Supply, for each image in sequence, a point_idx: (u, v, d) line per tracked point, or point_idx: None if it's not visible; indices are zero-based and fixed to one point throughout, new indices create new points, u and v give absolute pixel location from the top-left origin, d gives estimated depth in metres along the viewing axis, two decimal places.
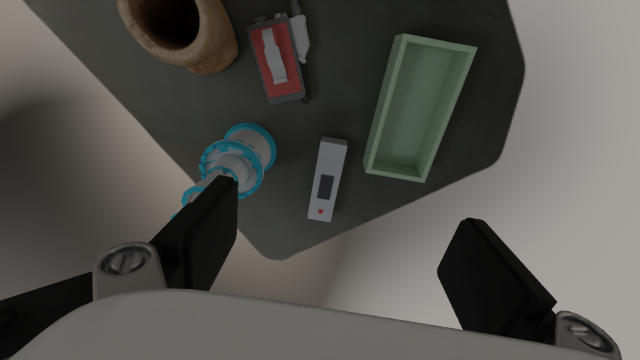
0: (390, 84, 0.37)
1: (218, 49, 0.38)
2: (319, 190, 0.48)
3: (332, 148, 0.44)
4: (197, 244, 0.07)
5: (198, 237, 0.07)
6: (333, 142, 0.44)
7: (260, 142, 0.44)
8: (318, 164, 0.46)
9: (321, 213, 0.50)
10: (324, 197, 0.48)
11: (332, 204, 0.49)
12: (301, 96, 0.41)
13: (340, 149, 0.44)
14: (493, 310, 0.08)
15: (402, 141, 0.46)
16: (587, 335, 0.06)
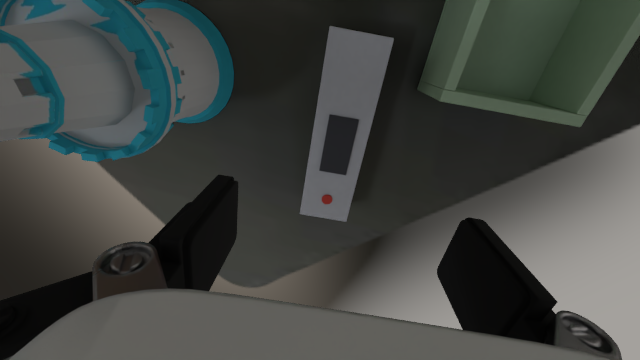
0: None
1: None
2: (325, 153, 0.22)
3: (357, 46, 0.18)
4: (197, 244, 0.07)
5: (198, 237, 0.07)
6: (359, 31, 0.18)
7: (186, 32, 0.19)
8: (323, 90, 0.20)
9: (327, 203, 0.25)
10: (335, 169, 0.23)
11: (351, 184, 0.24)
12: None
13: (376, 48, 0.19)
14: (493, 310, 0.08)
15: (515, 38, 0.20)
16: (587, 335, 0.06)
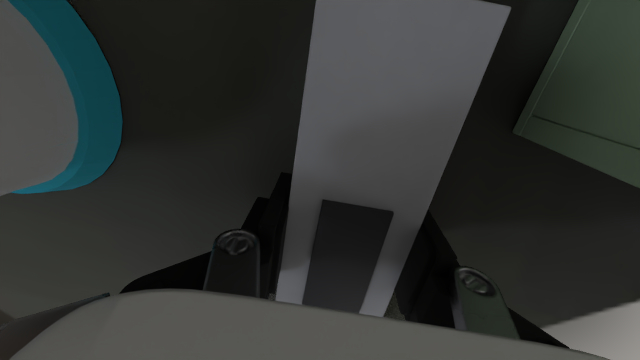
0: None
1: None
2: (313, 275, 0.10)
3: (400, 31, 0.06)
4: (283, 232, 0.08)
5: (284, 226, 0.08)
6: None
7: None
8: (306, 146, 0.08)
9: None
10: (337, 303, 0.11)
11: None
12: None
13: (455, 38, 0.06)
14: (413, 271, 0.09)
15: None
16: (477, 283, 0.07)
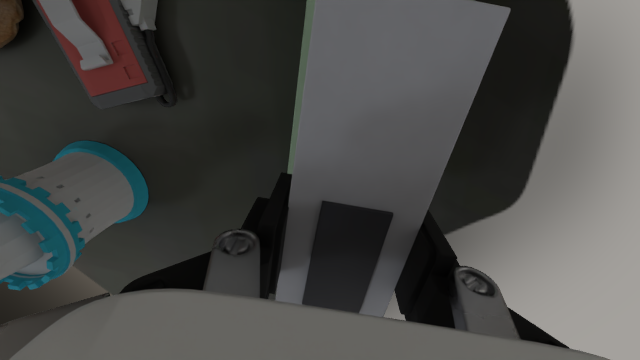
0: (301, 65, 0.18)
1: None
2: (313, 276, 0.10)
3: (399, 32, 0.06)
4: (283, 232, 0.08)
5: (284, 226, 0.08)
6: None
7: (97, 176, 0.25)
8: (306, 147, 0.08)
9: None
10: (336, 304, 0.11)
11: None
12: (149, 93, 0.22)
13: (454, 39, 0.06)
14: (413, 271, 0.09)
15: None
16: (477, 283, 0.07)
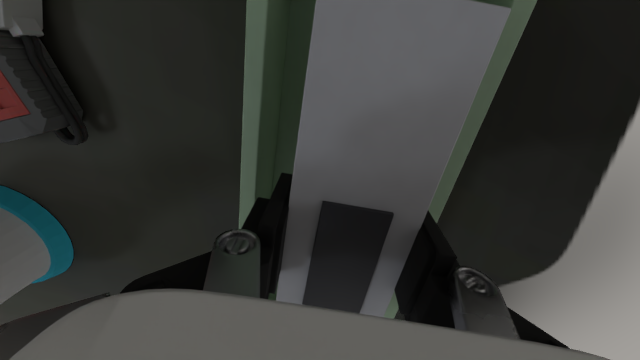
0: (245, 99, 0.11)
1: None
2: (313, 276, 0.10)
3: (400, 32, 0.06)
4: (283, 232, 0.08)
5: (284, 226, 0.08)
6: None
7: None
8: (306, 147, 0.08)
9: None
10: (337, 304, 0.11)
11: None
12: (35, 129, 0.15)
13: (455, 39, 0.06)
14: (413, 271, 0.09)
15: None
16: (476, 283, 0.07)
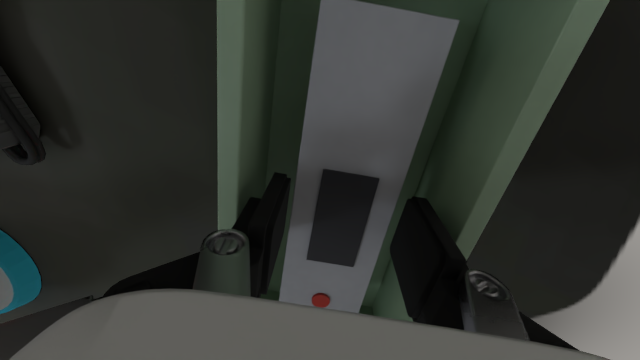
0: (220, 119, 0.08)
1: None
2: (316, 233, 0.12)
3: (380, 37, 0.09)
4: (274, 232, 0.08)
5: (275, 226, 0.08)
6: (383, 6, 0.09)
7: None
8: (310, 125, 0.10)
9: (322, 306, 0.15)
10: (335, 258, 0.13)
11: (363, 280, 0.14)
12: None
13: (420, 42, 0.09)
14: (421, 274, 0.09)
15: None
16: (488, 287, 0.07)
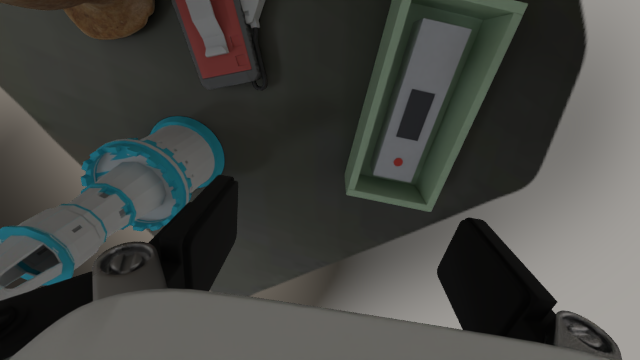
0: (385, 61, 0.24)
1: None
2: (403, 121, 0.27)
3: (442, 34, 0.24)
4: (197, 244, 0.07)
5: (198, 237, 0.07)
6: (444, 23, 0.24)
7: (194, 145, 0.30)
8: (410, 68, 0.25)
9: (398, 166, 0.30)
10: (409, 135, 0.28)
11: (420, 149, 0.29)
12: (251, 78, 0.27)
13: (457, 36, 0.24)
14: (493, 310, 0.08)
15: None
16: (587, 335, 0.06)
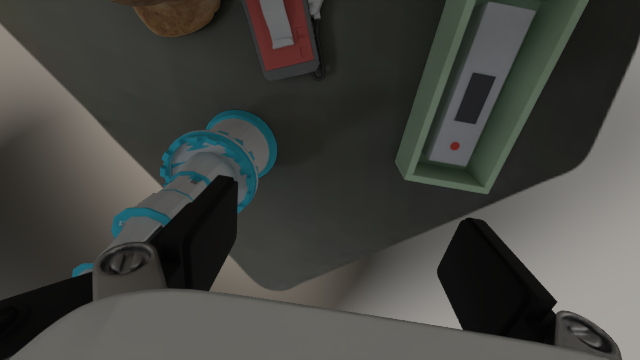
0: (452, 45, 0.24)
1: None
2: (462, 105, 0.28)
3: (506, 17, 0.24)
4: (197, 244, 0.07)
5: (198, 237, 0.07)
6: (508, 5, 0.24)
7: (254, 137, 0.31)
8: (472, 52, 0.26)
9: (454, 150, 0.30)
10: (468, 119, 0.29)
11: (478, 133, 0.29)
12: (313, 68, 0.28)
13: (521, 18, 0.25)
14: (493, 310, 0.08)
15: None
16: (587, 335, 0.06)
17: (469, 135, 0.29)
